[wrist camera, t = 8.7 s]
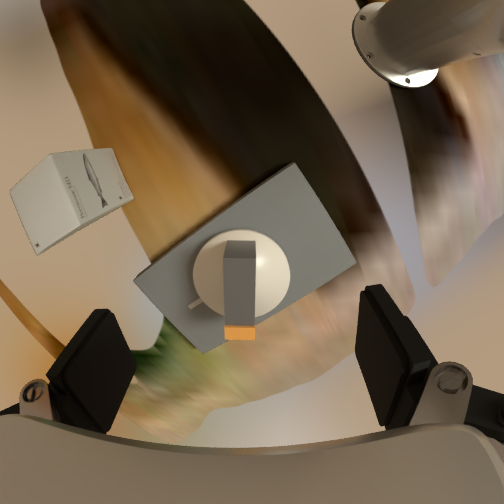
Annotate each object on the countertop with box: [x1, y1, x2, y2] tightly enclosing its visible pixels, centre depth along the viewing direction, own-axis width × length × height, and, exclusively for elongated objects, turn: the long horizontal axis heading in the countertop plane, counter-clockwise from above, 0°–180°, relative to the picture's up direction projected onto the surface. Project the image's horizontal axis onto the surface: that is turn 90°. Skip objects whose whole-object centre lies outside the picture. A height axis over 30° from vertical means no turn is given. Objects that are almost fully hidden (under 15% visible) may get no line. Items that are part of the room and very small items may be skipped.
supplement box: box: [10, 148, 134, 255], centre depth 25 cm, size 7×7×13 cm
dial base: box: [134, 162, 357, 354], centre depth 34 cm, size 24×14×2 cm, turn 126°
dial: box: [193, 228, 290, 340], centre depth 30 cm, size 11×11×6 cm
